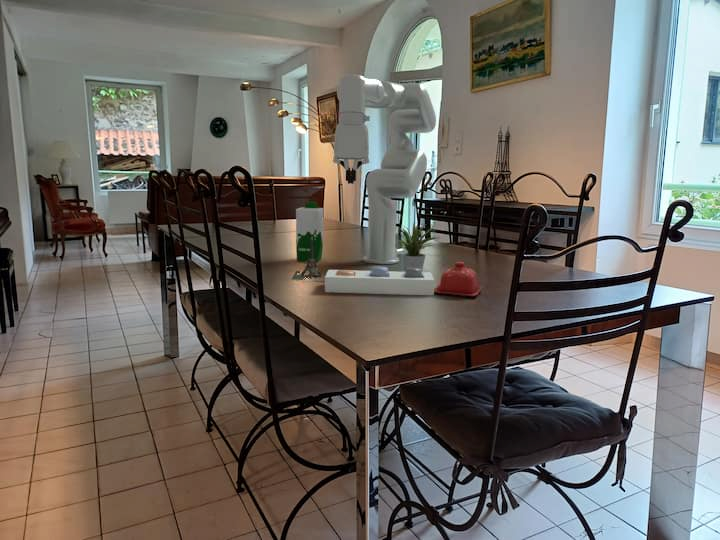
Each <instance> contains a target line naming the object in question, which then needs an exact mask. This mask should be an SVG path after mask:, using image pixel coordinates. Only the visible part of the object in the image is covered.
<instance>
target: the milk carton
mask: <svg viewBox="0 0 720 540" xmlns="http://www.w3.org/2000/svg"><path fill="white" fill-rule="evenodd" d="M311 236H312V237H313V251H314V258H315V262H316V264H317V263H318V262H320V261H322V258H323V245H324V244H323V243H324V208H323V207H318V202H317V201H305V203H304V207H298V208H295V245H296V246H295V249H296V250H295V252H296V262H297V263H308V259H309V256H310V245H311Z"/></svg>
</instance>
